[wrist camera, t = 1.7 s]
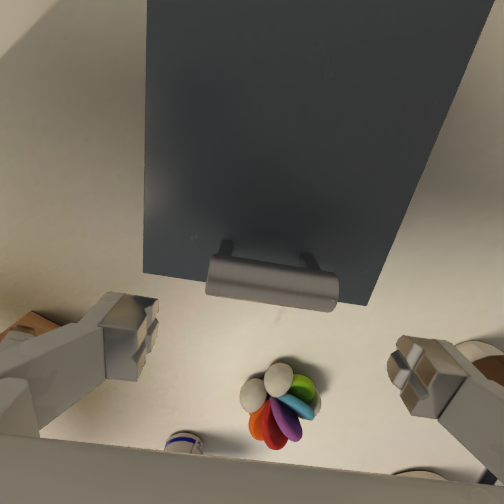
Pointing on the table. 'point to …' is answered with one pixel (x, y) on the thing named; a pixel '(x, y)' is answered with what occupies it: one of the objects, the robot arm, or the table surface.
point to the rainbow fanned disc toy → (279, 405)
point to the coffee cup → (485, 359)
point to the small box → (25, 330)
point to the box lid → (292, 138)
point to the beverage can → (184, 444)
